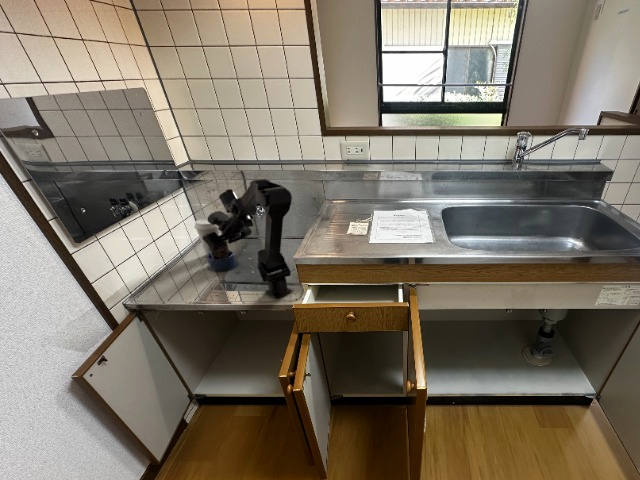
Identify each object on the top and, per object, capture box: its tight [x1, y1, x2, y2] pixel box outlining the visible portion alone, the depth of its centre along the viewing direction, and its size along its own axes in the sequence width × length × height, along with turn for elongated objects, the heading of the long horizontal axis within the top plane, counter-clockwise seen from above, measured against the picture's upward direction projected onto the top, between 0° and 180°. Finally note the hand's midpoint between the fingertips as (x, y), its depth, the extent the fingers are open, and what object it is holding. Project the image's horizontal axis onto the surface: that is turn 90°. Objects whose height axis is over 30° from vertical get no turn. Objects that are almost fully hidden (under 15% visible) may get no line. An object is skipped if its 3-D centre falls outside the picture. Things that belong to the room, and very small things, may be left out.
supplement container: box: [208, 240, 230, 259], centre depth 128 cm, size 7×7×10 cm
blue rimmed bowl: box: [206, 249, 237, 272], centre depth 130 cm, size 10×10×5 cm
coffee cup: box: [194, 217, 222, 256], centre depth 135 cm, size 10×10×15 cm
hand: (219, 246), depth 126 cm, fingers open, 9 cm apart
